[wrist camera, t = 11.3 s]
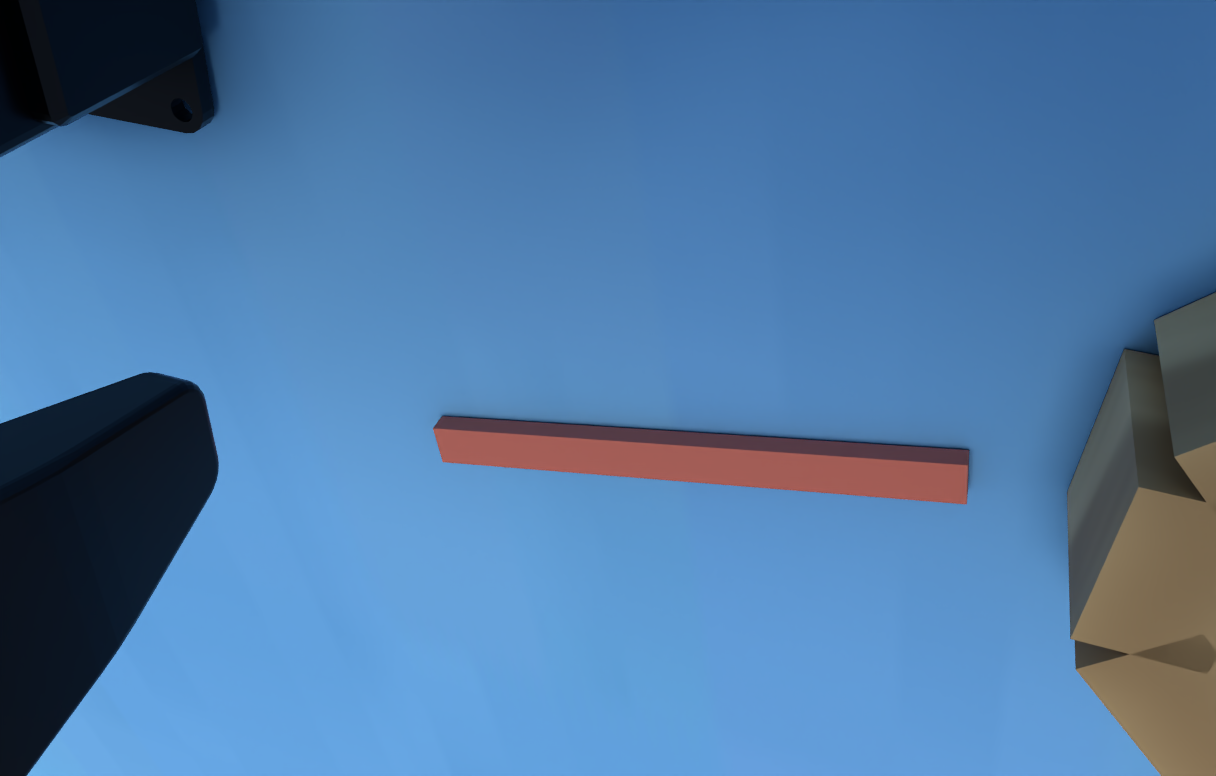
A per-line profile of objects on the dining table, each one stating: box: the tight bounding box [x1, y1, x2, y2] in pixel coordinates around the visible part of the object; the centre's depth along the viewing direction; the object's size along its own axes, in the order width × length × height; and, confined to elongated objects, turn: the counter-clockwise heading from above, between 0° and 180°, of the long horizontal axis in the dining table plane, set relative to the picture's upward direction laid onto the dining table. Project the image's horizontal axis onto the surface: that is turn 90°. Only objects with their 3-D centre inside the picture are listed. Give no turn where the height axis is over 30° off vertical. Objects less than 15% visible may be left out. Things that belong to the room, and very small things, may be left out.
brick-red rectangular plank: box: [433, 416, 969, 504], centre depth 24 cm, size 12×1×1 cm, turn 99°
